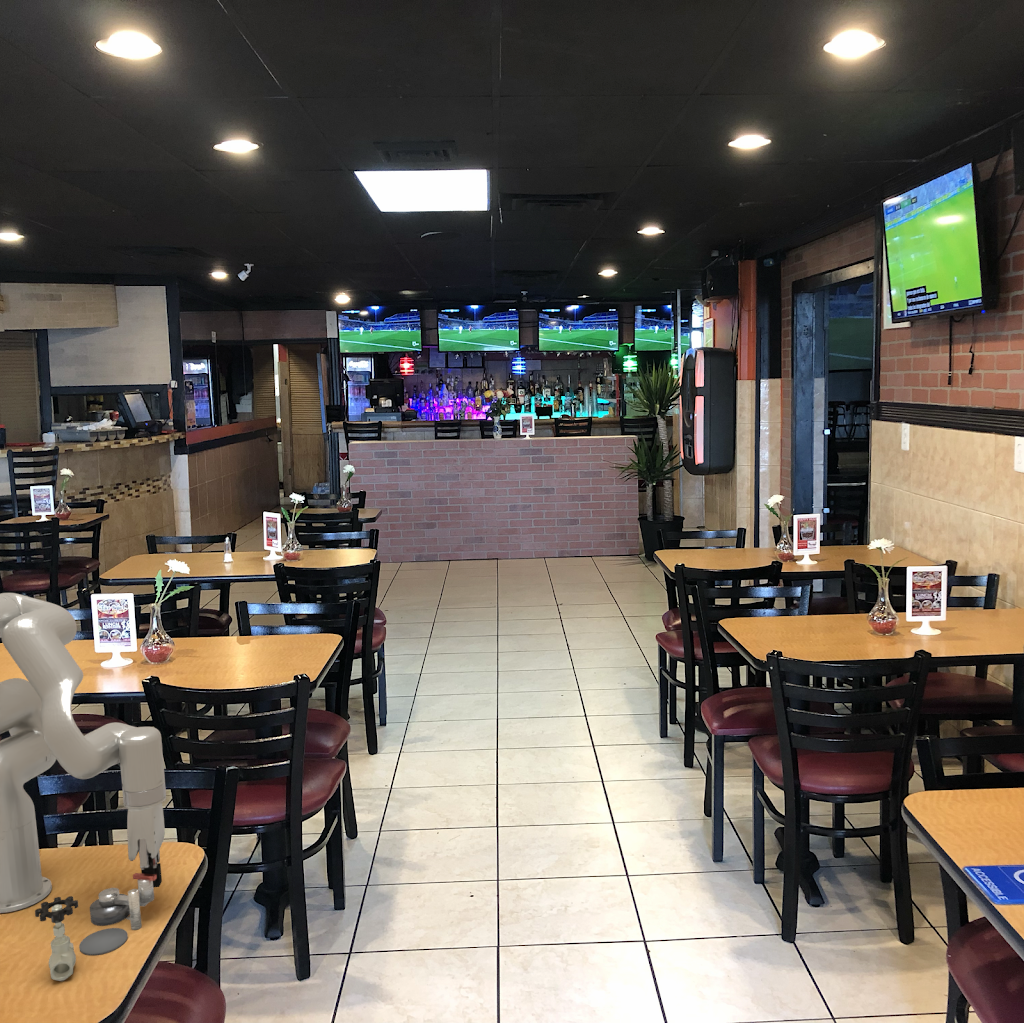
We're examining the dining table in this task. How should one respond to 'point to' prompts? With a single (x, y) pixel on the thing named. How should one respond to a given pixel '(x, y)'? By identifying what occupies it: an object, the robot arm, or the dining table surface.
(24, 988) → the dining table surface
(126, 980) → the dining table surface
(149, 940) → the dining table surface
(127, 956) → the dining table surface
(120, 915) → the crank housing
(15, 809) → the robot arm
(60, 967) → the valve
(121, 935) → the mat
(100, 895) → the crank
